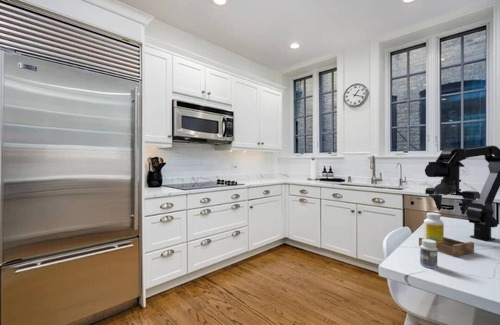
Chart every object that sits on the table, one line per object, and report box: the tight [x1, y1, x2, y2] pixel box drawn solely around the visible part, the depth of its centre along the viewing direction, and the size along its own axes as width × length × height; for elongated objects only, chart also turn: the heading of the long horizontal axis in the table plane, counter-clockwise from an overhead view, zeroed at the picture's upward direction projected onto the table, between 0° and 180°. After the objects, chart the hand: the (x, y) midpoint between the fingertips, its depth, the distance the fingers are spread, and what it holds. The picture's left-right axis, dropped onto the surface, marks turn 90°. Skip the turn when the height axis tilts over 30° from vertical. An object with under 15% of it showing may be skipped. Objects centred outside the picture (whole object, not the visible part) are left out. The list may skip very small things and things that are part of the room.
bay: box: [418, 236, 475, 258], centre depth 101 cm, size 11×14×4 cm
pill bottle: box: [419, 238, 439, 269], centre depth 85 cm, size 5×5×8 cm
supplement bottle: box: [423, 212, 445, 244], centre depth 105 cm, size 7×7×13 cm
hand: (450, 212), depth 113 cm, fingers open, 9 cm apart
